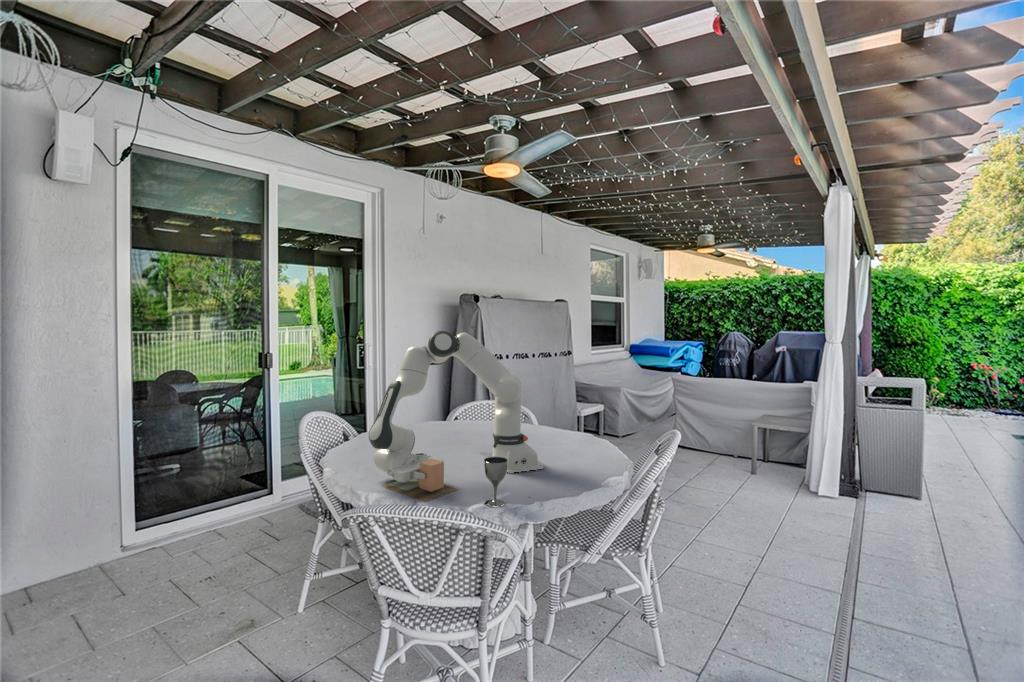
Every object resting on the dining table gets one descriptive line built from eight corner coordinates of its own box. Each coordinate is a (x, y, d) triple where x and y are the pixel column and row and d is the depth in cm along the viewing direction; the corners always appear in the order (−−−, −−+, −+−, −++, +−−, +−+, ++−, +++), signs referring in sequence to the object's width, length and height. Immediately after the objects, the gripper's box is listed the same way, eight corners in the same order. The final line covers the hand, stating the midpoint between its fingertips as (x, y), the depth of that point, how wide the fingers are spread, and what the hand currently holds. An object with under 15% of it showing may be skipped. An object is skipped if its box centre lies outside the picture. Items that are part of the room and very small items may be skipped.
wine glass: (507, 507, 171) (508, 463, 170) (483, 508, 170) (484, 463, 170) (506, 499, 179) (506, 456, 178) (483, 499, 178) (483, 456, 178)
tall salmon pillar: (432, 483, 186) (432, 458, 186) (443, 487, 182) (443, 461, 182) (419, 487, 181) (419, 462, 181) (431, 491, 178) (431, 465, 177)
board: (458, 492, 185) (458, 489, 185) (425, 504, 172) (425, 501, 172) (413, 478, 199) (413, 475, 199) (380, 488, 187) (380, 485, 187)
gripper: (384, 464, 181) (410, 472, 173) (427, 452, 197) (453, 458, 189) (384, 481, 182) (410, 490, 173) (427, 468, 198) (453, 475, 189)
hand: (433, 473), depth 181 cm, fingers closed on tall salmon pillar, 6 cm apart
